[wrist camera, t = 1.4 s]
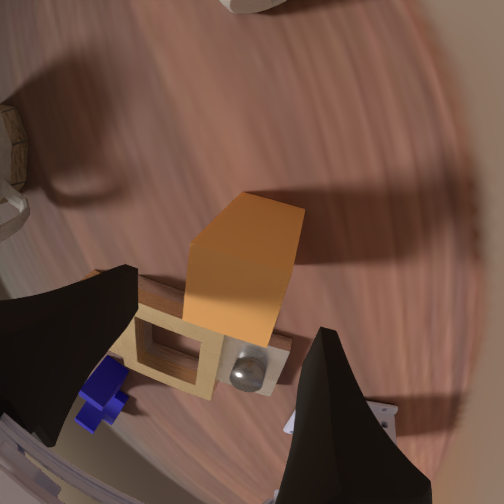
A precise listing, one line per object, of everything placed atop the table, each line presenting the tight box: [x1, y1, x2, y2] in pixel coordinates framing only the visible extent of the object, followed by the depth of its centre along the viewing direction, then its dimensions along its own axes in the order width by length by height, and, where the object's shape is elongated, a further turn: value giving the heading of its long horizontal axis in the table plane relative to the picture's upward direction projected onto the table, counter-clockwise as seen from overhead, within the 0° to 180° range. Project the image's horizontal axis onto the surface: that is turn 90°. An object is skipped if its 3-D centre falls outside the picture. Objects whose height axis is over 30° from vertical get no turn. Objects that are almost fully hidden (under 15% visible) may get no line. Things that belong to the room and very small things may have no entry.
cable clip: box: [75, 355, 129, 434], centre depth 30 cm, size 12×4×6 cm, turn 148°
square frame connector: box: [81, 270, 292, 401], centre depth 23 cm, size 18×8×4 cm, turn 78°
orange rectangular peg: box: [182, 192, 305, 348], centre depth 16 cm, size 4×4×8 cm
